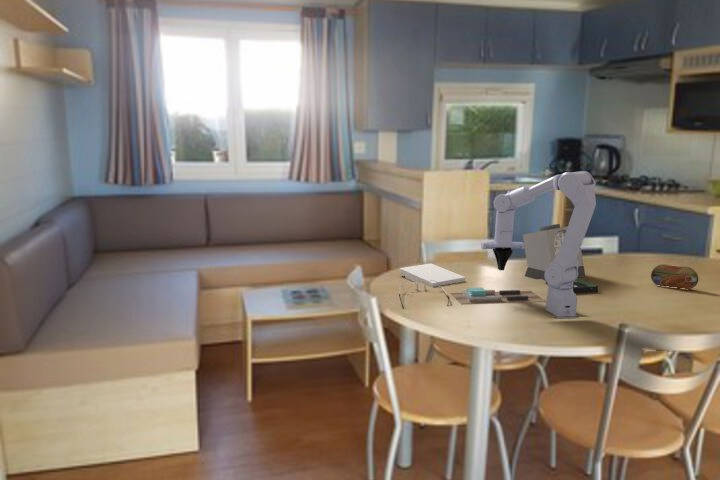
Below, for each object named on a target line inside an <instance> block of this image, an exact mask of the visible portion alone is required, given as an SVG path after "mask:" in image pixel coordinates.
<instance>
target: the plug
mask: <svg viewBox="0 0 720 480" xmlns="http://www.w3.org/2000/svg"><path fill="white" fill-rule="evenodd" d="M486 290H487V289H484V288H483V287H467V289H466V291H467V292H468V293H469V294H470V295H471V296H486Z"/></svg>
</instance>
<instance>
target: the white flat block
mask: <svg viewBox="0 0 720 480" xmlns="http://www.w3.org/2000/svg"><path fill="white" fill-rule="evenodd" d="M398 271H399V273H400V274H401V275H404V277H405V279H406V280H408V279H411V280H410V282H414V281H415V282H414V283H419V282H420V283H422V282H423V283H422V284H424V283H425V285H426V286H429V287H433V288H434V287H439V286H447V285H451V284H457V283H462V282H466V277H465V276H463V275H461V274H459V273H456V272H453V271H451V270H449V269H446V268H443V267H442V266H438V265H436V264H433V263H425V264H418V265H411V266H406V267H400V268H399V270H398ZM430 280H432V281H430ZM433 280H435V281H433ZM428 281H429V282H428ZM436 281H437V282H438V283H439V284H438V283H437V282H436ZM427 282H428V283H427ZM426 283H427V284H426Z"/></svg>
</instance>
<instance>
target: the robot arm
mask: <svg viewBox="0 0 720 480" xmlns="http://www.w3.org/2000/svg"><path fill="white" fill-rule="evenodd" d="M596 184H597V182H596V181H595V179H594V177H593V175H592V174H591V173H590V172H589V171H587V170H579V171H574V172H571V171H570V172H569V171H567V172H563V173H561V174H556V175H554V176H552V177H549V178H546V179H545V180H543V181H541V182H539V183H537V184H535V185H533V186H531V185H529V184H523V183H522V184H519V185H518V187H517V188H516V189H512V190H507V192H506V193H499V194H498V195H496V196H495V198H494V200H493V207H494V209H495V210H496V211H495V212H496V214H495V227H494V228H495V229H494V241H489V242H488V241H486V242H481V243H480V249H482V250H483V251H484V250H492V252H493V254H494V258H495V259H496V263H497V264H496V265H497V270H499V271H505V268H506V266H507V263H508V261H509V259H510V257H511V256H512V254H513V250H515V249H521V250H525V247H524V245H525V243H524V241H523V242H522V241H513V232H514V220H515V215H516V210H517V209H518V208H520V207H523V206H526V205H528V204H531V203H534V201H535V200H536V197H537V196H541V195H542V194H545V193H548V192H551V191H554V190H556V191H560V192H562V194H564V195H565V197H566V198H567V199H569V200H570V201H571V203H572V205H573V207H574V208H573V211H572V213H571V216H570V219H569V222H568V228H567V230H566V233H565V236H564V239H563V242H562V245H561V248H560V251H559V253H558V255H557V256H556V257H555V258H554V260H553V261H552V262H551V265H550V267H549V268H547V269H546V271H545V274H544V277H545V280H546V281H545V280H544V281H545V283H546V282H547V283H548V285H547V291H546V300H545V301H546V302H545V310H546V311H547V312H549V313H551V314H553V315H554V316H556V317H554V316H553V317H552V319H554V320H562V319H563V320H564V319H567V320H568V319H579V316H577V315H576V314H577V308H578V307H577V305H578V295H577V294H575V293H574V292H573V281H575V280H576V279H578V278H577V277H578V265H579V262H578V261H577V256H578V253H579V250H580V248H581V247H582V244H583V241H584V239H585V236H586V234H587V232H588V229H589V226H590V222H591V220H592V217H593V215H594V213H595V212H594V211H595V208H596V206H597V202H596V201H597V200H596V192H595V187H596ZM512 249H513V250H512ZM581 249H582V248H581Z"/></svg>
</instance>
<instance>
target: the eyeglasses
mask: <svg viewBox="0 0 720 480" xmlns="http://www.w3.org/2000/svg"><path fill="white" fill-rule="evenodd" d="M406 281H411V279H406V280H405V282H406ZM430 281H432V280H430ZM433 281H435V280H433ZM405 282H403V283H402V284H400V285H399V288H402V289H403V291H405V289H404V284H405ZM428 282H429V281H428ZM428 282H427V283H428ZM436 282H437V281H436ZM414 283H416V284H415V289H414V290H416V291H417V290H418V289H419V284H420V283H422V284H423V290H425V291H426V290H427V289H426V288H427V283H426V284H425V283H423V282H415V281H414ZM437 283H438V282H437ZM438 284H439V283H438ZM440 289H442V290H443V292H444V293H445V295H446V297H447V298H448V299H447V300H448V301H447V304H446V307H449V304H450V296H449V294H447V291H446V290H445V289H444V287H443V286H442V285H440V286H438V291H439V290H440ZM405 293H407V294H408V292H407V291H405ZM412 293H413V292H411V294H412ZM398 297H399V300H400V303H401V306H402V309H403V310H404V309H405V306H404V305H403V302H402V297H401V292H399V294H398Z"/></svg>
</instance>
